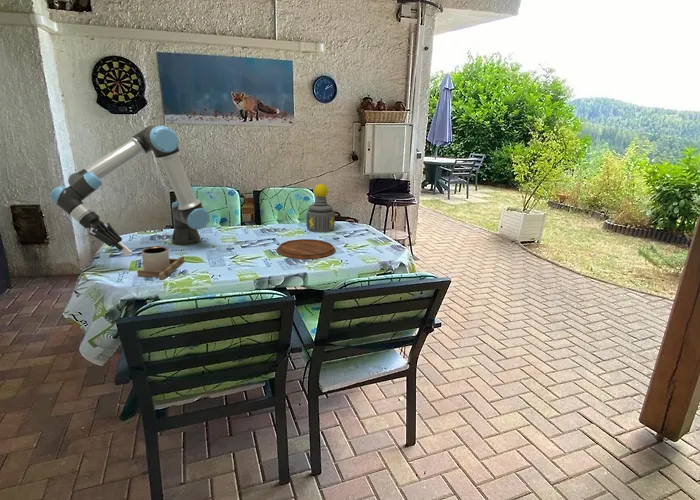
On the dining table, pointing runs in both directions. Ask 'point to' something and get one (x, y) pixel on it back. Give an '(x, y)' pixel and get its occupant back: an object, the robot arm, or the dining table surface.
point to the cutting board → (306, 249)
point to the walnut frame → (162, 274)
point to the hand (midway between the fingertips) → (129, 253)
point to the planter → (155, 258)
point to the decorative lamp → (320, 212)
